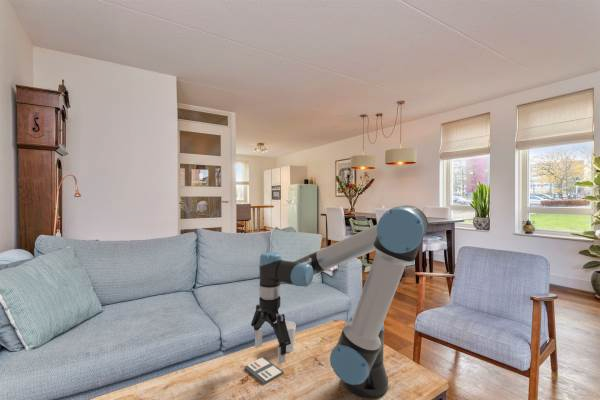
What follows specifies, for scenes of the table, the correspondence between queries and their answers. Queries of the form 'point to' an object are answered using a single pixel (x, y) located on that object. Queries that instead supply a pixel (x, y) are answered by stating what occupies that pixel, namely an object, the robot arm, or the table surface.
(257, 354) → the table surface
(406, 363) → the table surface
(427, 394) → the table surface
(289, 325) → the white cup
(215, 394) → the table surface
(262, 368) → the label board
